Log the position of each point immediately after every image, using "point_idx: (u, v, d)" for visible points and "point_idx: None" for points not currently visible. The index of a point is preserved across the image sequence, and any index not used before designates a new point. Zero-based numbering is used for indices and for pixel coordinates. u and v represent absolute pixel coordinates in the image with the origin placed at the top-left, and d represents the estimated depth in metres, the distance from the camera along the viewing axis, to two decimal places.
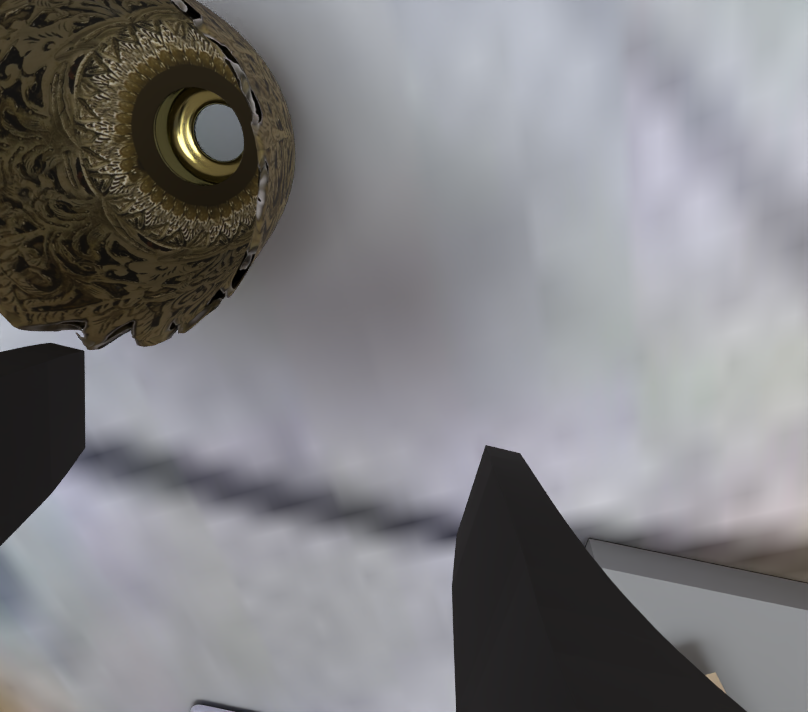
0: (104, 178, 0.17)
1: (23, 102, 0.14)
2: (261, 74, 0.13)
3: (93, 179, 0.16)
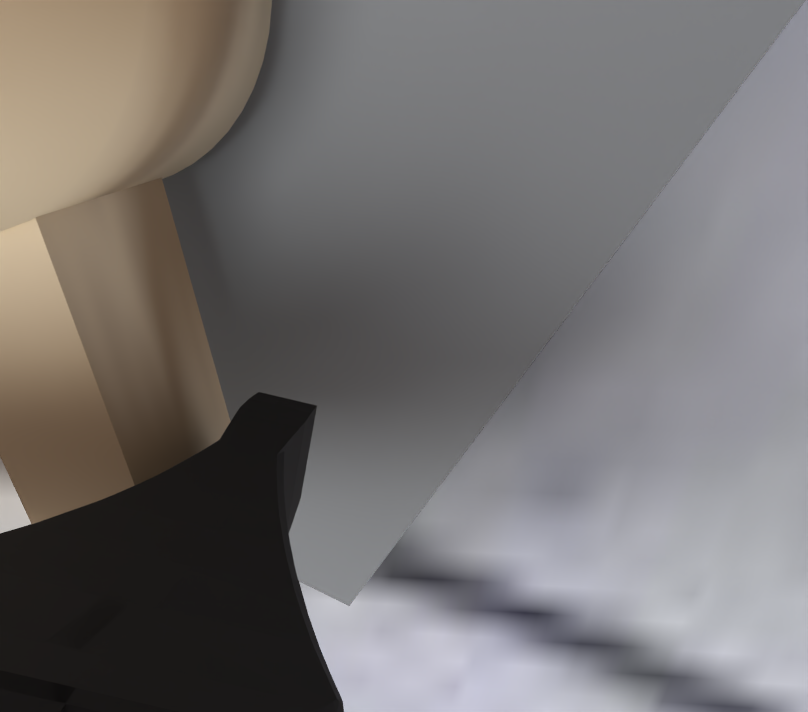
0: None
1: None
2: None
3: None
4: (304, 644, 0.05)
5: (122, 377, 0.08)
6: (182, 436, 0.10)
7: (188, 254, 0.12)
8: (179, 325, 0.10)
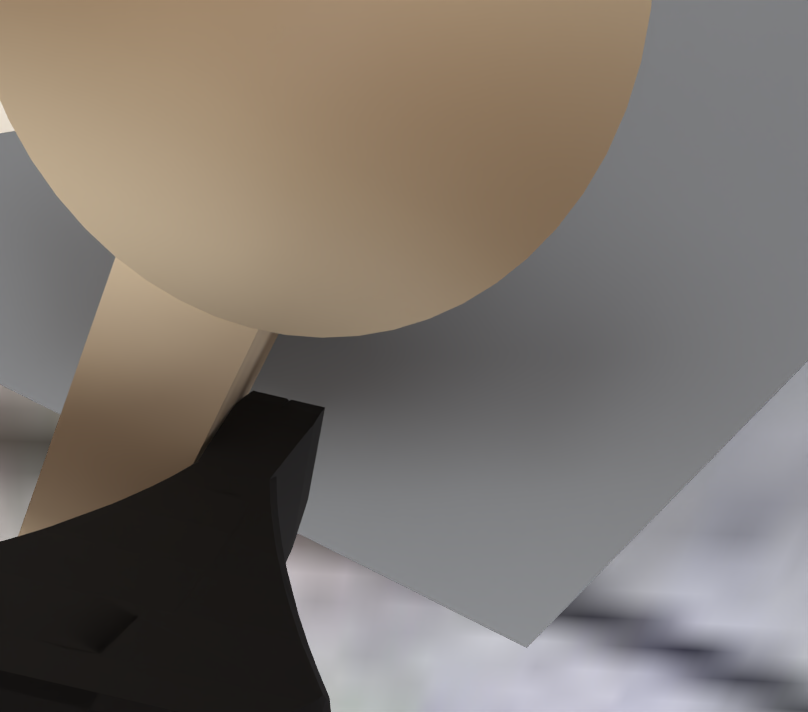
0: None
1: None
2: None
3: None
4: (292, 641, 0.05)
5: (209, 440, 0.09)
6: None
7: None
8: (250, 380, 0.10)
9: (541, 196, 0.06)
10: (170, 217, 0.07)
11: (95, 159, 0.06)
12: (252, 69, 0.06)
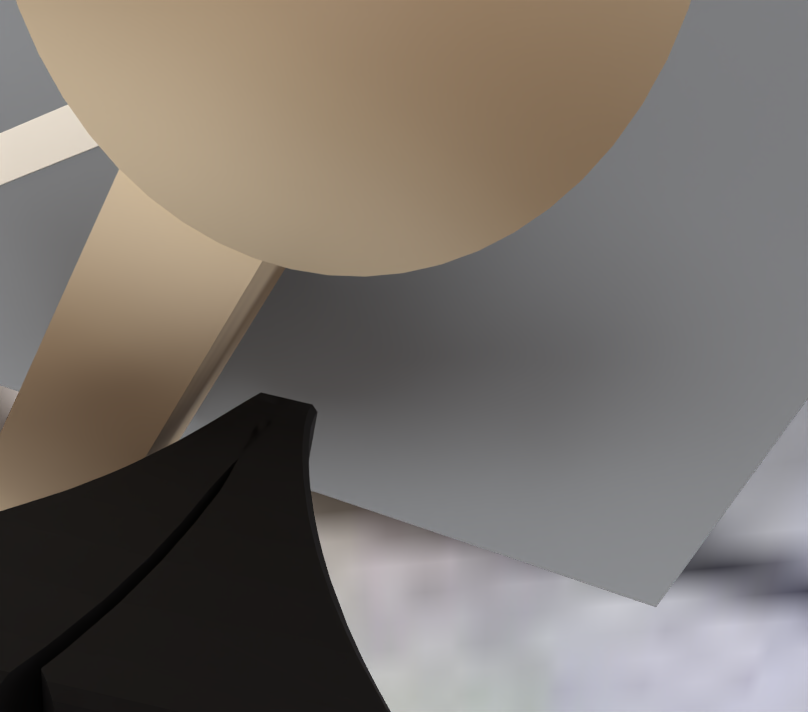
0: None
1: None
2: None
3: None
4: (348, 654, 0.05)
5: (197, 381, 0.08)
6: (179, 422, 0.10)
7: (484, 263, 0.12)
8: (243, 328, 0.10)
9: (570, 144, 0.06)
10: (182, 130, 0.06)
11: (107, 60, 0.06)
12: None
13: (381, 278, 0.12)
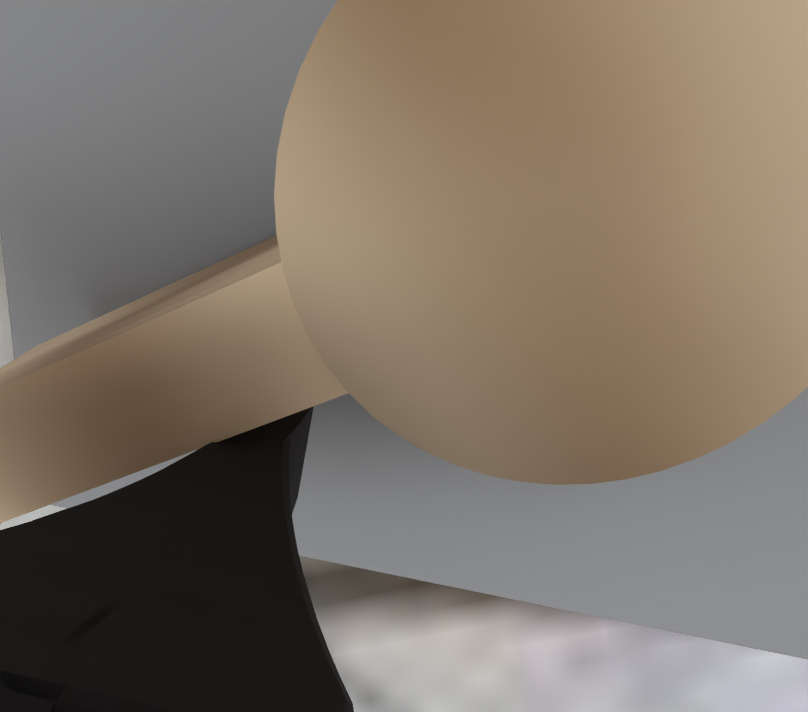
0: None
1: None
2: None
3: None
4: (313, 646, 0.05)
5: None
6: None
7: None
8: None
9: (634, 454, 0.07)
10: (359, 279, 0.07)
11: (334, 195, 0.06)
12: (516, 234, 0.06)
13: None
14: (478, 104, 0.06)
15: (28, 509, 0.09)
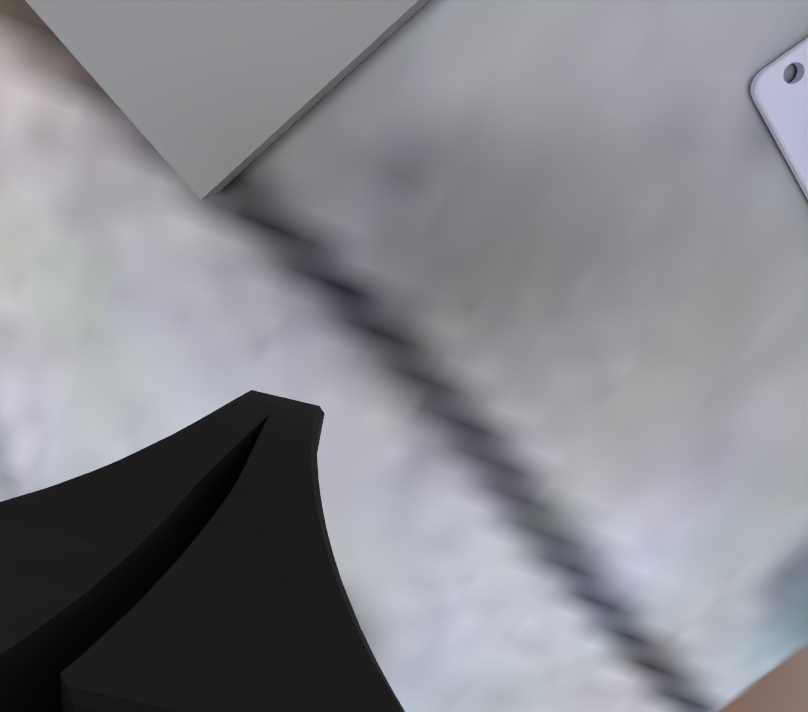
0: None
1: None
2: None
3: None
4: (363, 657, 0.05)
5: None
6: None
7: None
8: None
9: None
10: None
11: None
12: None
13: None
14: None
15: None
